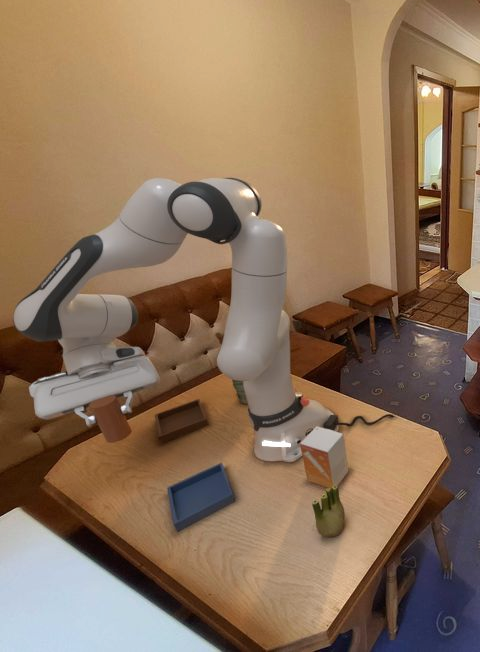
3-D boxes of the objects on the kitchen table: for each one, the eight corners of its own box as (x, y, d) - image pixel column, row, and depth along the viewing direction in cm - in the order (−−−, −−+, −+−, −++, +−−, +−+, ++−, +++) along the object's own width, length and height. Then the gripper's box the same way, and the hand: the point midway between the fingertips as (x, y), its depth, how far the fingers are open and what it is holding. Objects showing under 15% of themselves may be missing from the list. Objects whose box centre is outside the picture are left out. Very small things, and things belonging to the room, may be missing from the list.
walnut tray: (201, 404, 115) (199, 398, 114) (208, 425, 107) (206, 418, 106) (157, 420, 108) (154, 414, 107) (161, 443, 100) (158, 437, 99)
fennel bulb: (319, 544, 76) (311, 506, 71) (318, 524, 80) (310, 486, 75) (347, 534, 78) (341, 496, 73) (345, 514, 82) (338, 477, 78)
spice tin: (131, 426, 85) (115, 392, 81) (132, 436, 83) (116, 401, 79) (106, 435, 83) (88, 400, 79) (106, 445, 80) (88, 410, 76)
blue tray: (224, 469, 93) (221, 462, 92) (235, 501, 85) (232, 493, 84) (170, 494, 86) (167, 487, 85) (177, 532, 78) (173, 524, 77)
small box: (307, 482, 90) (298, 443, 85) (323, 462, 96) (316, 425, 90) (334, 491, 88) (327, 452, 83) (349, 470, 93) (343, 433, 88)
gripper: (20, 377, 74) (35, 440, 71) (147, 344, 87) (165, 396, 84) (33, 385, 78) (48, 444, 76) (152, 353, 91) (168, 402, 89)
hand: (110, 418), depth 80 cm, fingers closed on spice tin, 4 cm apart
